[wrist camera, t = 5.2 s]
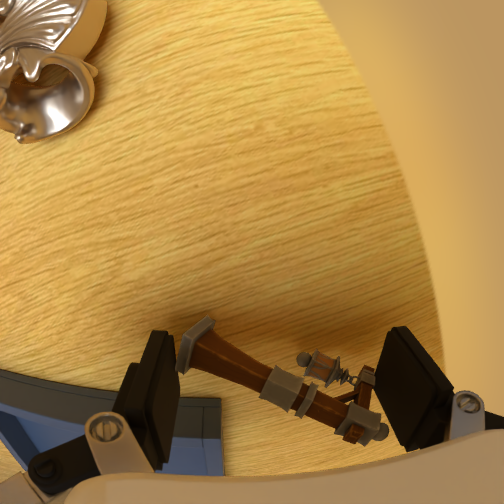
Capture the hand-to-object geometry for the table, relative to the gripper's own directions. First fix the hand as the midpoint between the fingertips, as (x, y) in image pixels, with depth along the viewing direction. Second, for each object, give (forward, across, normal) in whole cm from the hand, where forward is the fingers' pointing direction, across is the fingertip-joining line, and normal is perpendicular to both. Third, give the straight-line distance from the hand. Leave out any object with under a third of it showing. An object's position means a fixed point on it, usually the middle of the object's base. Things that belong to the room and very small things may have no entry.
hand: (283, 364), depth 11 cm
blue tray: (+2, +10, +10) cm, 14 cm away
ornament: (+2, +10, -12) cm, 16 cm away
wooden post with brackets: (+1, 0, 0) cm, 1 cm away
